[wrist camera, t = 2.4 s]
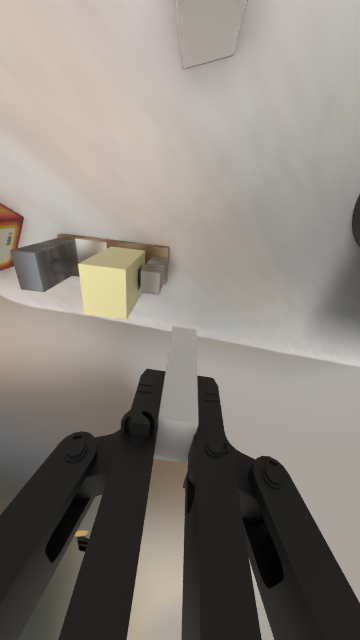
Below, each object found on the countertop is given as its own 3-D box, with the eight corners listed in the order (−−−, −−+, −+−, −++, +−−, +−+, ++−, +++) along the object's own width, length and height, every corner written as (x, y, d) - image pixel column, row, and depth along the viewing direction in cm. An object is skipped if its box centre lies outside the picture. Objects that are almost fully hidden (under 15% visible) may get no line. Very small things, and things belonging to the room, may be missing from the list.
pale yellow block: (145, 250, 30) (125, 269, 22) (144, 289, 33) (126, 319, 25) (111, 246, 30) (77, 263, 22) (113, 285, 33) (84, 314, 25)
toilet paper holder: (169, 247, 35) (159, 264, 25) (166, 281, 38) (156, 309, 28) (62, 233, 35) (8, 245, 25) (67, 269, 38) (22, 292, 28)
